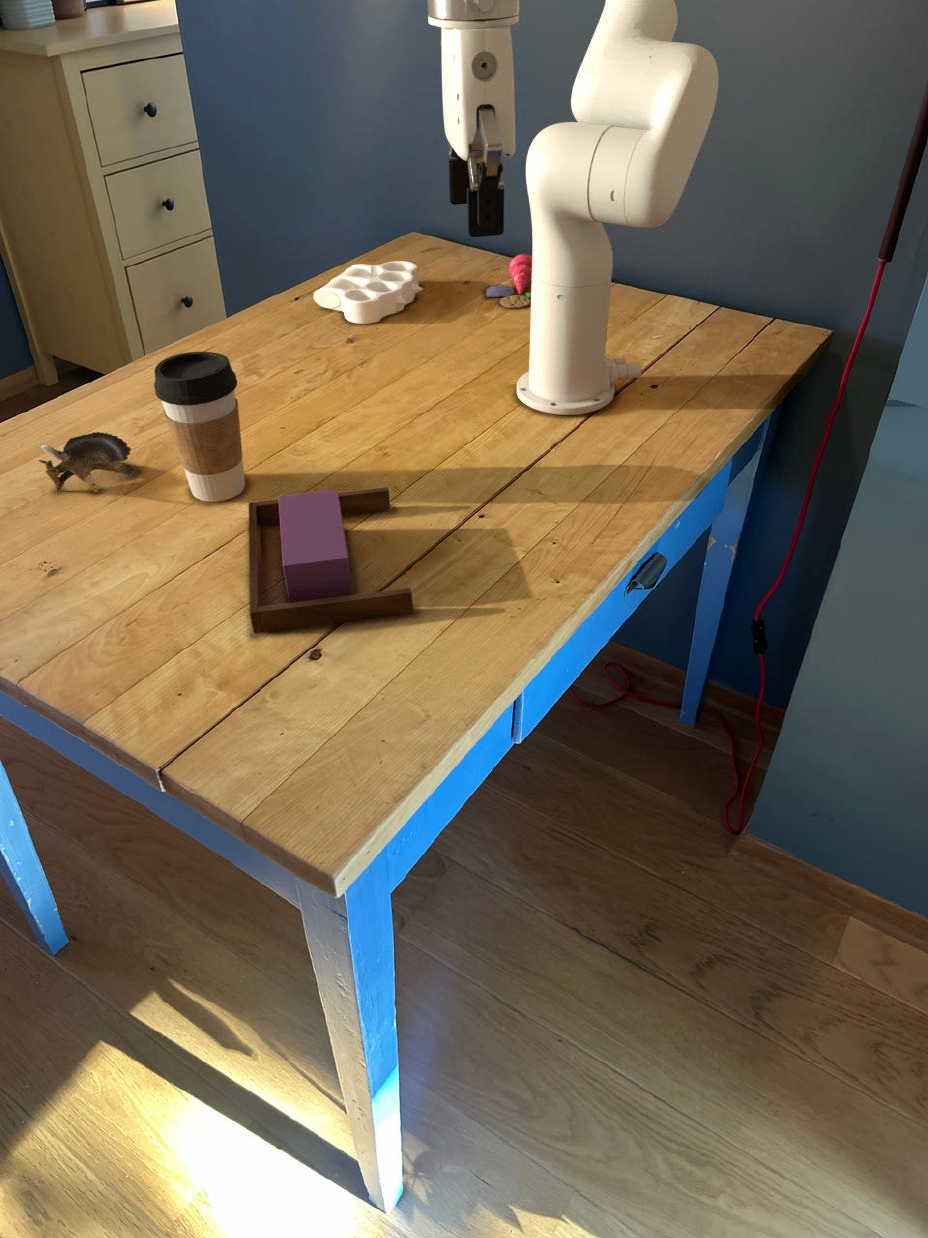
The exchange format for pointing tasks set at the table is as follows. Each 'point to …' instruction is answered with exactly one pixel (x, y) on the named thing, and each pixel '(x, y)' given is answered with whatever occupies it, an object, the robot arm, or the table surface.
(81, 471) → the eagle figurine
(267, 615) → the walnut bay
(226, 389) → the coffee cup
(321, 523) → the plum block
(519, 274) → the toy pieces
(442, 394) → the table surface
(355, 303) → the white paint palette
